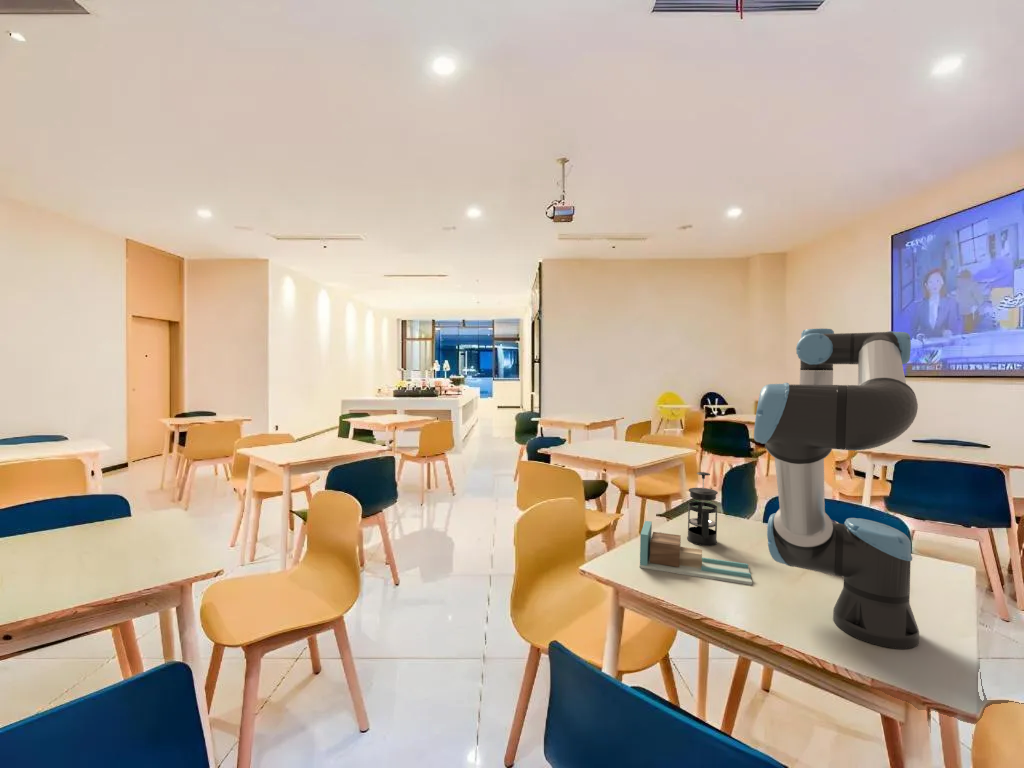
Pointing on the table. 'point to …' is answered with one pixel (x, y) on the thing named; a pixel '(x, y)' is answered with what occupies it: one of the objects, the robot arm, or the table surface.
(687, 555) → the light wood bar
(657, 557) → the block
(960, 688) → the table surface
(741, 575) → the railed board with endplate
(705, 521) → the french press
